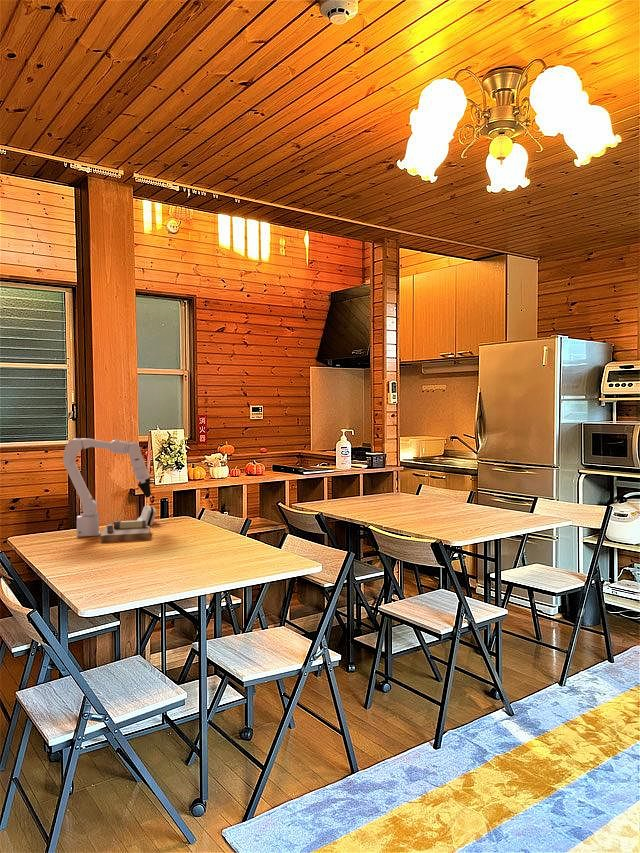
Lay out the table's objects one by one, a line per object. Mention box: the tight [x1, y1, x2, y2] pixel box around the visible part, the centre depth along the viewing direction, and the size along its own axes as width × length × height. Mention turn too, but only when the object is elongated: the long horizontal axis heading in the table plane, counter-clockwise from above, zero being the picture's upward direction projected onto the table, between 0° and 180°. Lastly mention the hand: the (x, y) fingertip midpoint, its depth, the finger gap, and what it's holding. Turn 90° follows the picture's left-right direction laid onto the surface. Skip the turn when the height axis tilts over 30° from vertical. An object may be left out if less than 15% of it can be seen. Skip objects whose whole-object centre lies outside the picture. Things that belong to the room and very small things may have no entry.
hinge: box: [136, 505, 157, 526], centre depth 324 cm, size 17×5×10 cm, turn 24°
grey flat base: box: [99, 523, 151, 543], centre depth 290 cm, size 20×18×6 cm
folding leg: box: [113, 519, 147, 529], centre depth 296 cm, size 14×3×3 cm, turn 103°
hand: (148, 495), depth 304 cm, fingers open, 7 cm apart
